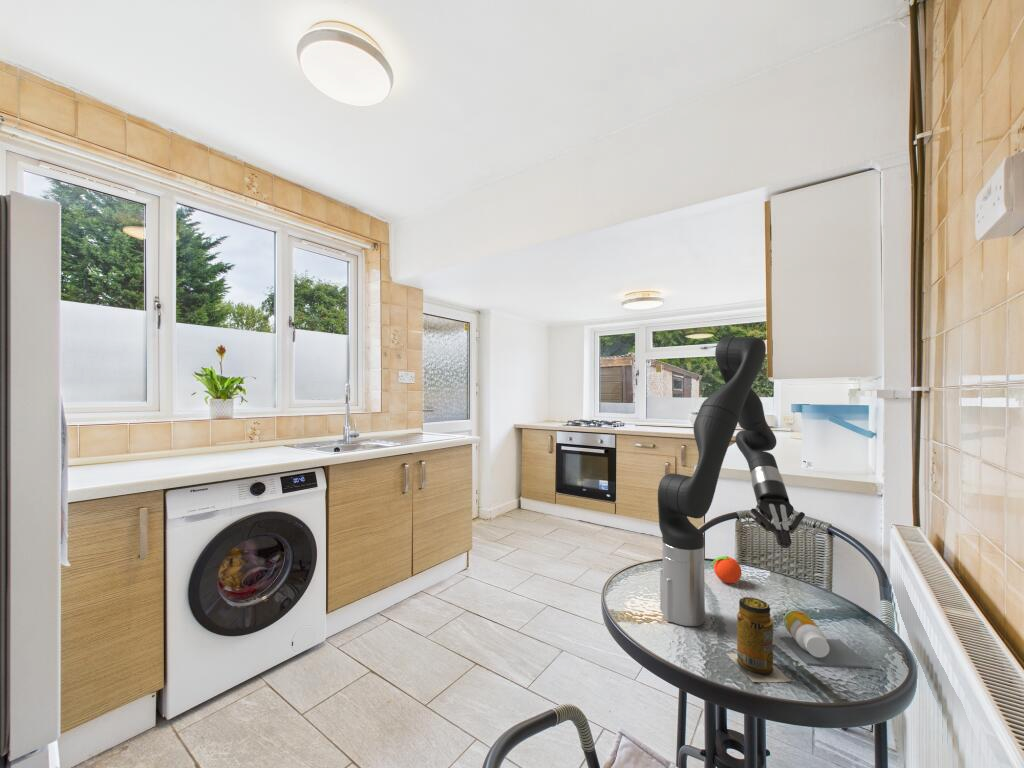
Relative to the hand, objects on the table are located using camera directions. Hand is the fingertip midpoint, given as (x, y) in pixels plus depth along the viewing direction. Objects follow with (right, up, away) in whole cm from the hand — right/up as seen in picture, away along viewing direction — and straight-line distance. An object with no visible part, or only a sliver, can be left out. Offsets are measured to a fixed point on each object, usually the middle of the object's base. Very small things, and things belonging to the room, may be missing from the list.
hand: (785, 546), depth 103 cm
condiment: (-20, -15, -22) cm, 33 cm away
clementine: (-7, -16, +15) cm, 23 cm away
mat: (-4, -15, -18) cm, 23 cm away
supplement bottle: (-5, -12, -11) cm, 17 cm away
